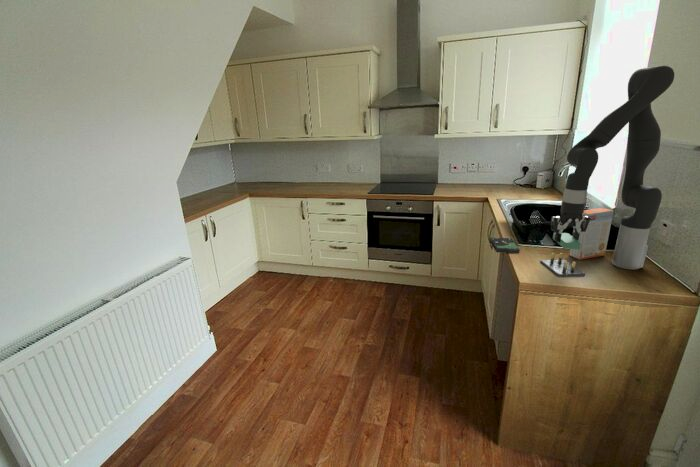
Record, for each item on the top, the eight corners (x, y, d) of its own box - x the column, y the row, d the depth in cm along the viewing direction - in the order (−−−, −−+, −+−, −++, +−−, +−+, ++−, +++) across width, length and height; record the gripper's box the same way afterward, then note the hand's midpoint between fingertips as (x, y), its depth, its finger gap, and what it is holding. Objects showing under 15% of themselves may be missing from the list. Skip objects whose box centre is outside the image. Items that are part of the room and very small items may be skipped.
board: (579, 249, 129) (581, 243, 128) (564, 248, 130) (565, 242, 130) (567, 238, 140) (568, 233, 140) (552, 238, 141) (553, 232, 141)
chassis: (564, 261, 145) (566, 250, 144) (584, 276, 132) (587, 264, 131) (540, 262, 146) (542, 251, 144) (558, 276, 133) (560, 264, 131)
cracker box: (592, 251, 155) (601, 207, 148) (605, 256, 149) (615, 210, 143) (567, 255, 152) (576, 210, 145) (579, 260, 146) (588, 213, 140)
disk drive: (489, 242, 172) (496, 253, 158) (489, 237, 171) (496, 247, 157) (510, 243, 171) (519, 253, 157) (511, 237, 170) (520, 248, 156)
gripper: (560, 203, 126) (552, 245, 132) (599, 202, 126) (590, 244, 131) (549, 198, 134) (542, 238, 139) (586, 198, 133) (578, 238, 138)
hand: (566, 241), depth 135 cm, fingers closed on board, 6 cm apart
